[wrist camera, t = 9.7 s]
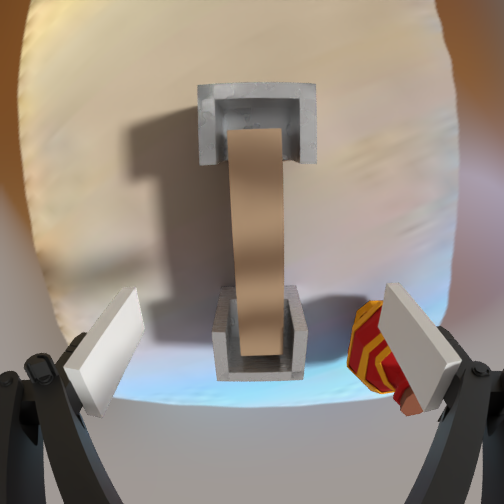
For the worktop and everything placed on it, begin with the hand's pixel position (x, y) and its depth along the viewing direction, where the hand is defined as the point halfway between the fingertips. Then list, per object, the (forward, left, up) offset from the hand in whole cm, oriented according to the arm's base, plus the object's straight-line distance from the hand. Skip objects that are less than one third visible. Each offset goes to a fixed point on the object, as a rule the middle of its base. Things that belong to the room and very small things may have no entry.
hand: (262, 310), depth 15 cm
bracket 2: (+10, 0, -18) cm, 20 cm away
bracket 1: (-10, 0, -18) cm, 20 cm away
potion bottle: (+12, +14, -18) cm, 26 cm away
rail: (+1, 0, -15) cm, 15 cm away
